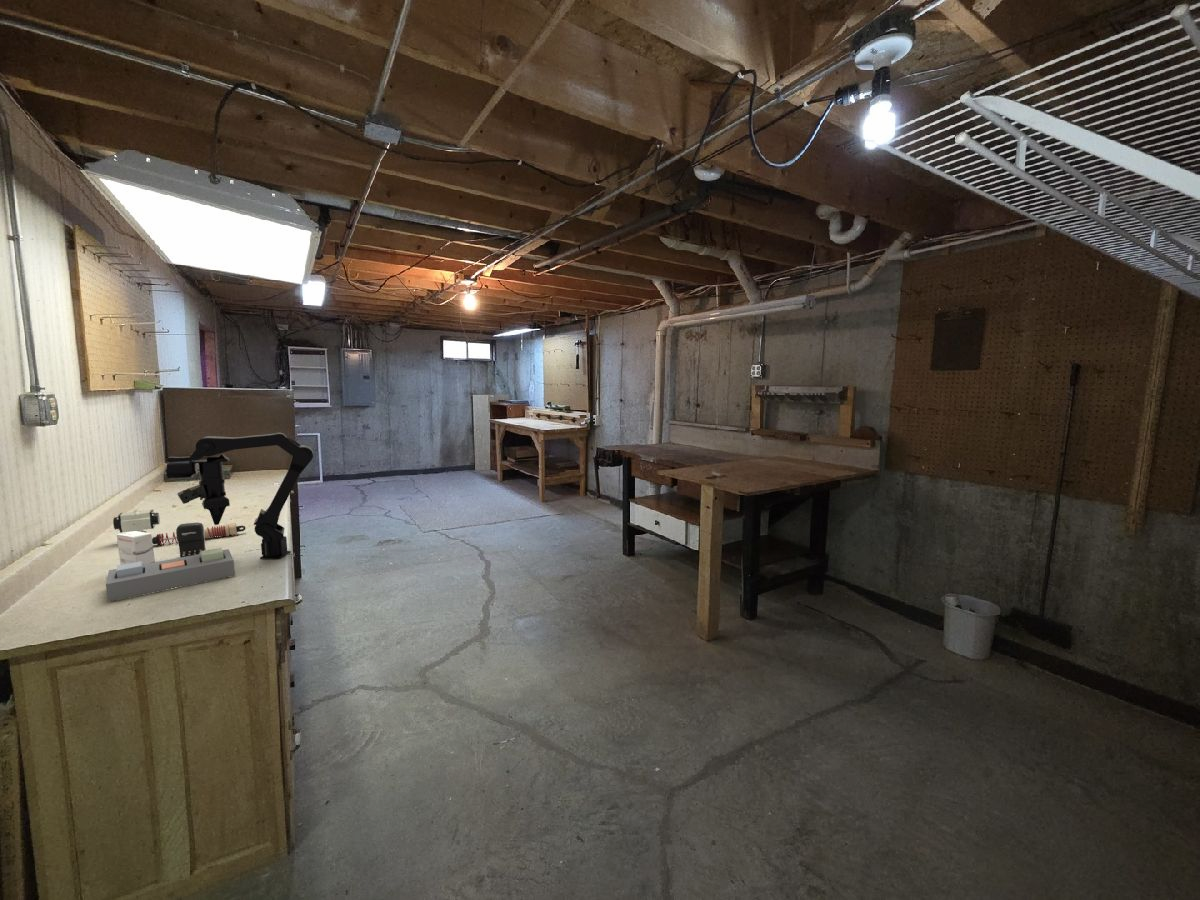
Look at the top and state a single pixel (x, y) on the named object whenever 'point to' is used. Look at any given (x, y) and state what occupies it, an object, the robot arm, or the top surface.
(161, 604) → the top surface
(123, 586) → the button panel
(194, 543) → the battery charger
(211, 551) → the sage button
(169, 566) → the terracotta button
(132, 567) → the slate button
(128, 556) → the ink box
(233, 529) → the shock absorber
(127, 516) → the pneumatic valve
